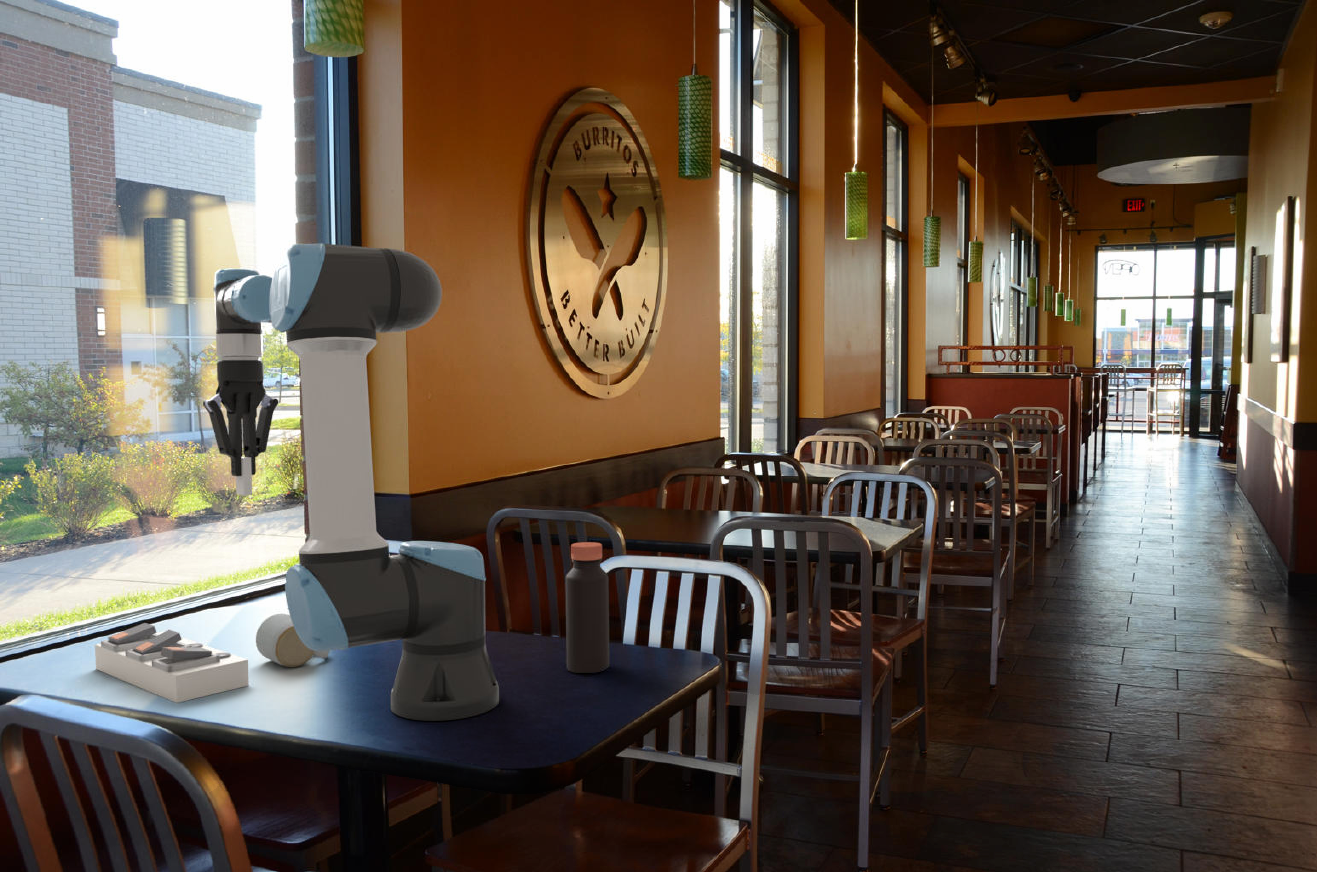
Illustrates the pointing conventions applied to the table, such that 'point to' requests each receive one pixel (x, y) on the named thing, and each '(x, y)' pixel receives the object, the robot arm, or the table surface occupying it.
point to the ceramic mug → (283, 642)
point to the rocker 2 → (185, 652)
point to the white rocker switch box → (173, 670)
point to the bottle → (587, 610)
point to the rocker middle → (158, 642)
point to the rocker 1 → (132, 634)
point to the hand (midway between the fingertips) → (244, 494)
